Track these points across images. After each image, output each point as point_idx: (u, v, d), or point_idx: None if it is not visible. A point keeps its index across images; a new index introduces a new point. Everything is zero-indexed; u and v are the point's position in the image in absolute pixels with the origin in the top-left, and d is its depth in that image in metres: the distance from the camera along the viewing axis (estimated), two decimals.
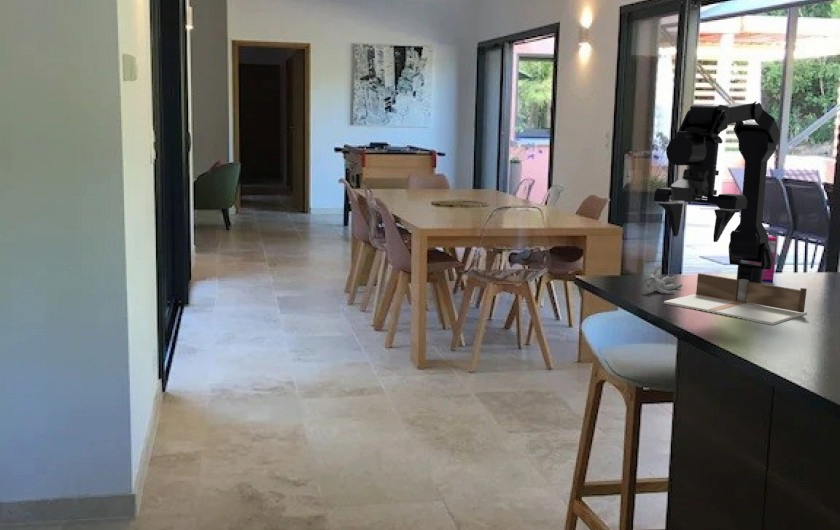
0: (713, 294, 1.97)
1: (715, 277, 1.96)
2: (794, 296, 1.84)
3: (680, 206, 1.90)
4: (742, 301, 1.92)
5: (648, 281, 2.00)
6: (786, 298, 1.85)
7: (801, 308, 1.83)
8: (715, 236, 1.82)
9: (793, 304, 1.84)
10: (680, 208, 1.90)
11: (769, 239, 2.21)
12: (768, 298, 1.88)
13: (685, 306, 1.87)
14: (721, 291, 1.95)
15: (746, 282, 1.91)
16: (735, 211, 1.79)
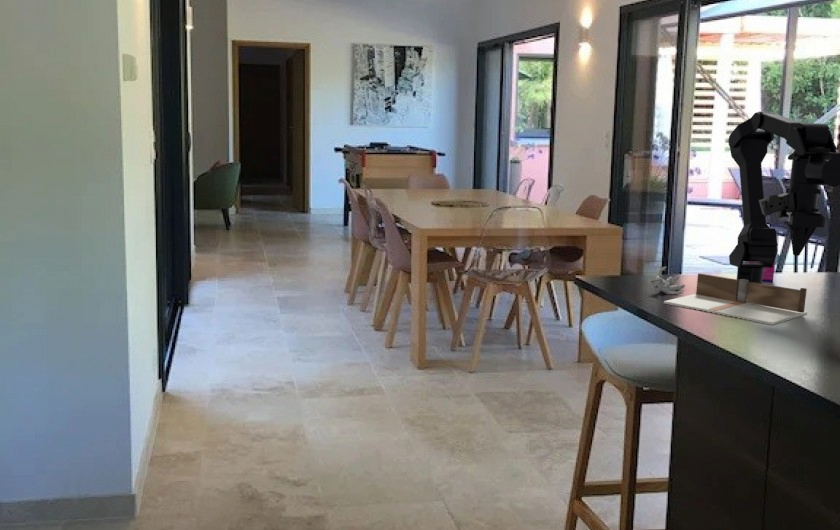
0: (713, 294, 1.97)
1: (715, 277, 1.96)
2: (794, 296, 1.84)
3: None
4: (742, 301, 1.92)
5: (655, 282, 1.99)
6: (786, 298, 1.85)
7: (801, 308, 1.83)
8: (793, 249, 1.88)
9: (793, 304, 1.84)
10: None
11: None
12: (768, 298, 1.88)
13: (685, 306, 1.87)
14: (721, 291, 1.95)
15: (746, 282, 1.91)
16: (805, 226, 1.84)
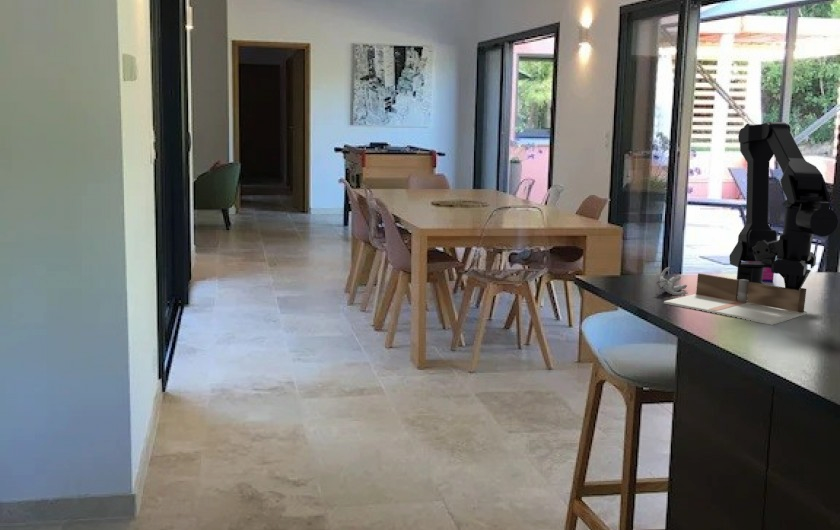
0: (713, 294, 1.97)
1: (715, 277, 1.96)
2: (794, 296, 1.84)
3: None
4: (742, 301, 1.92)
5: (661, 283, 1.98)
6: (786, 298, 1.85)
7: (801, 308, 1.83)
8: None
9: (793, 304, 1.84)
10: None
11: None
12: (768, 298, 1.88)
13: (685, 306, 1.87)
14: (721, 291, 1.95)
15: (746, 282, 1.91)
16: None
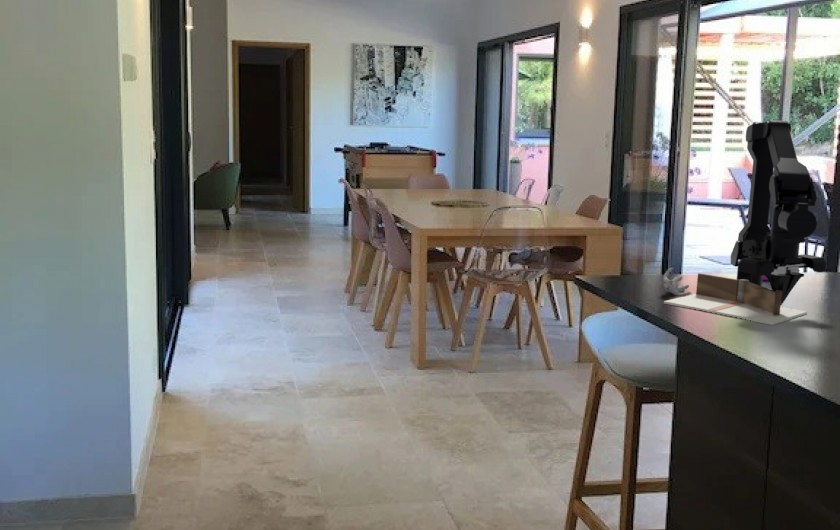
0: (713, 294, 1.97)
1: (715, 277, 1.96)
2: (771, 298, 1.81)
3: (790, 277, 1.81)
4: (742, 301, 1.92)
5: (666, 284, 1.98)
6: (766, 299, 1.83)
7: (775, 310, 1.80)
8: None
9: (770, 306, 1.81)
10: (789, 279, 1.81)
11: None
12: (756, 299, 1.86)
13: (685, 306, 1.87)
14: (721, 291, 1.95)
15: None
16: (770, 275, 1.81)
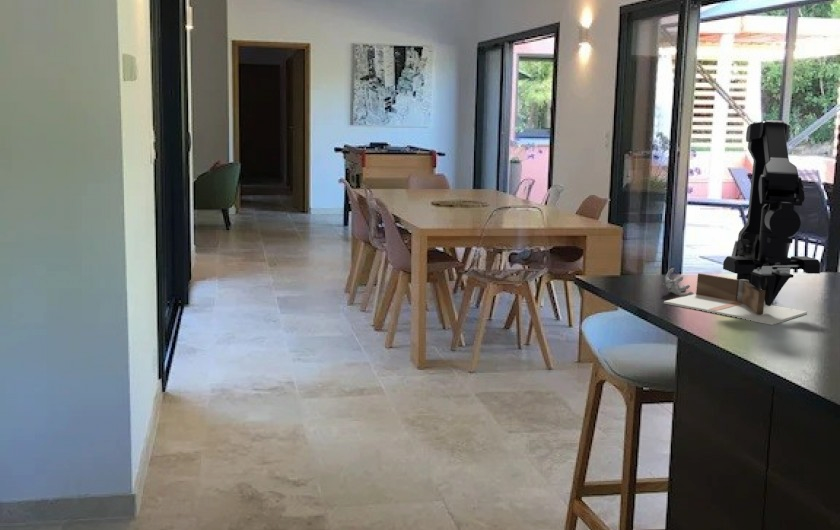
0: (713, 294, 1.97)
1: (715, 277, 1.96)
2: (757, 297, 1.81)
3: (777, 277, 1.80)
4: None
5: (669, 284, 1.97)
6: (754, 299, 1.83)
7: (758, 310, 1.80)
8: None
9: (756, 305, 1.81)
10: (777, 279, 1.80)
11: None
12: (748, 298, 1.86)
13: (685, 306, 1.87)
14: (721, 291, 1.95)
15: None
16: (756, 274, 1.81)
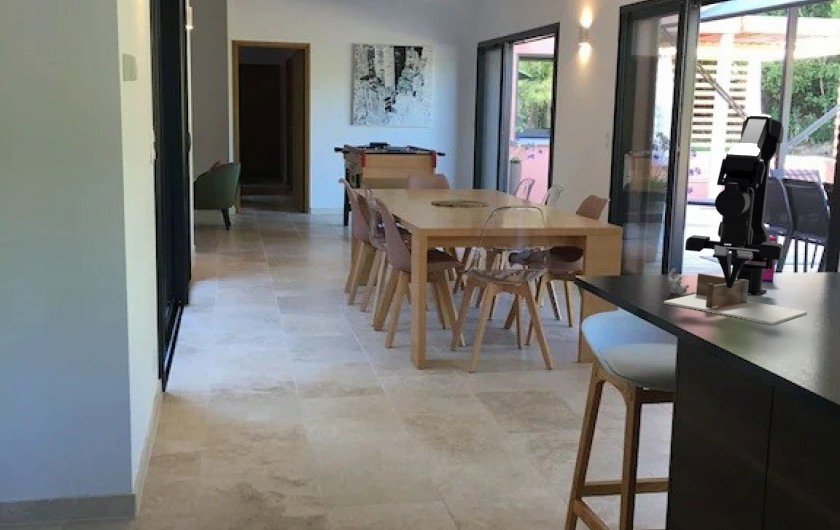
0: None
1: (715, 277, 1.96)
2: None
3: None
4: (742, 301, 1.92)
5: (674, 285, 1.97)
6: None
7: (706, 302, 1.85)
8: None
9: None
10: (734, 261, 1.81)
11: (769, 239, 2.21)
12: None
13: (685, 306, 1.87)
14: None
15: (746, 282, 1.91)
16: None
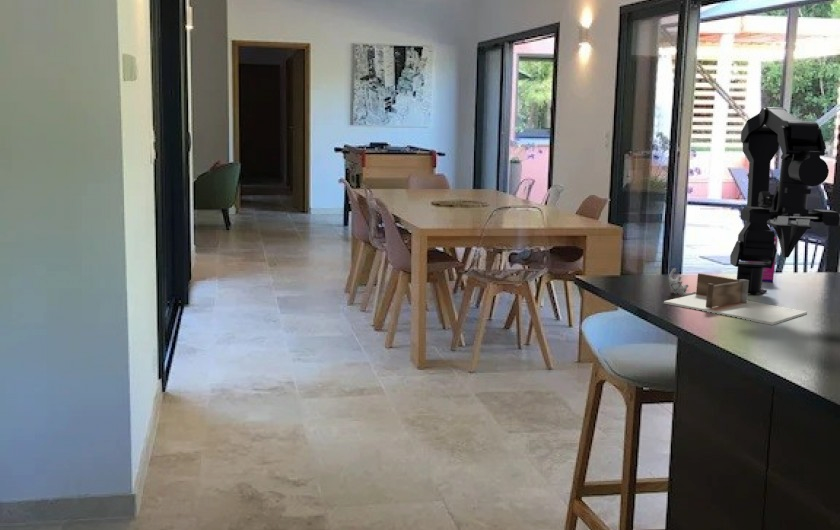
0: None
1: (715, 277, 1.96)
2: None
3: (795, 228, 1.81)
4: (742, 301, 1.92)
5: (675, 285, 1.97)
6: None
7: (706, 302, 1.85)
8: None
9: None
10: (795, 230, 1.81)
11: None
12: None
13: (685, 306, 1.87)
14: None
15: (746, 282, 1.91)
16: (772, 225, 1.82)
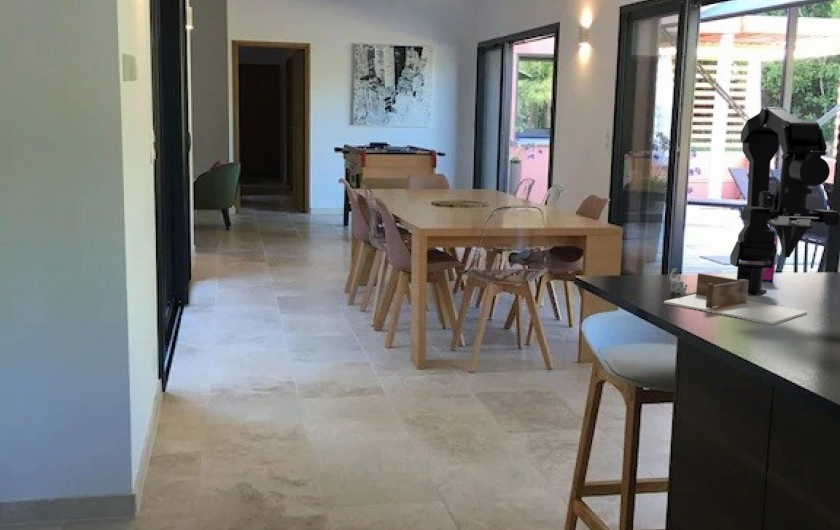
0: None
1: (715, 277, 1.96)
2: None
3: (796, 228, 1.81)
4: (742, 301, 1.92)
5: (677, 285, 1.97)
6: None
7: (706, 302, 1.85)
8: None
9: None
10: (795, 230, 1.81)
11: None
12: None
13: (685, 306, 1.87)
14: None
15: (746, 282, 1.91)
16: (773, 224, 1.82)
